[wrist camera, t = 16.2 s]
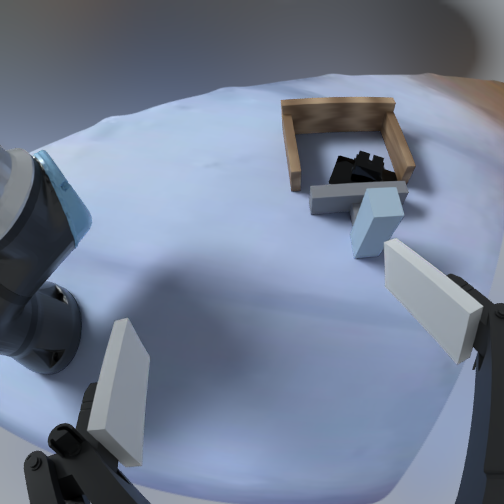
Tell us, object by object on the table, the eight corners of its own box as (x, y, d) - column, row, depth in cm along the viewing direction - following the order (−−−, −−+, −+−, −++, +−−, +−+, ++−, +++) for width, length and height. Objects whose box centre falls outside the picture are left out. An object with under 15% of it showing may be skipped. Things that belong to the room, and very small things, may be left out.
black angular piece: (405, 175, 48) (414, 157, 43) (399, 214, 45) (408, 197, 41) (330, 151, 51) (333, 131, 46) (318, 187, 48) (321, 168, 44)
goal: (291, 191, 48) (290, 163, 42) (282, 129, 53) (280, 100, 47) (406, 184, 46) (419, 158, 40) (385, 125, 51) (393, 97, 45)
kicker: (317, 261, 43) (325, 221, 32) (309, 202, 47) (312, 150, 36) (411, 252, 42) (444, 212, 31) (396, 196, 46) (420, 148, 35)
